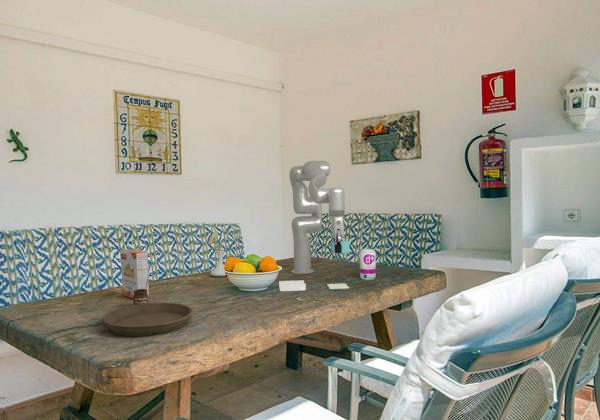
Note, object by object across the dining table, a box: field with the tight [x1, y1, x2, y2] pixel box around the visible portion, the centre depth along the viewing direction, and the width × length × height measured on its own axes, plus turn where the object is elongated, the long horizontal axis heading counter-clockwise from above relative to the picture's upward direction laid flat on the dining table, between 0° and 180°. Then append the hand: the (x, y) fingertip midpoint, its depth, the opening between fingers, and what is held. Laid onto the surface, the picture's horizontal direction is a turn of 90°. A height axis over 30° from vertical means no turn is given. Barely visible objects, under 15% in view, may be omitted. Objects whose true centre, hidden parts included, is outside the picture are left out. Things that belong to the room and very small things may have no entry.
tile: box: [326, 282, 350, 290], centre depth 232 cm, size 9×9×1 cm
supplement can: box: [359, 248, 377, 281], centre depth 251 cm, size 8×8×15 cm
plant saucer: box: [101, 302, 194, 337], centre depth 172 cm, size 31×31×5 cm
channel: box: [278, 279, 307, 292], centre depth 229 cm, size 9×12×3 cm
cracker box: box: [120, 249, 150, 299], centre depth 216 cm, size 14×6×21 cm, turn 47°
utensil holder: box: [132, 276, 150, 305], centre depth 198 cm, size 6×6×12 cm
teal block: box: [330, 240, 351, 255], centre depth 231 cm, size 5×8×6 cm, turn 95°
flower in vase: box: [208, 231, 227, 277], centre depth 265 cm, size 13×11×25 cm
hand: (337, 251), depth 231 cm, fingers closed on teal block, 5 cm apart
